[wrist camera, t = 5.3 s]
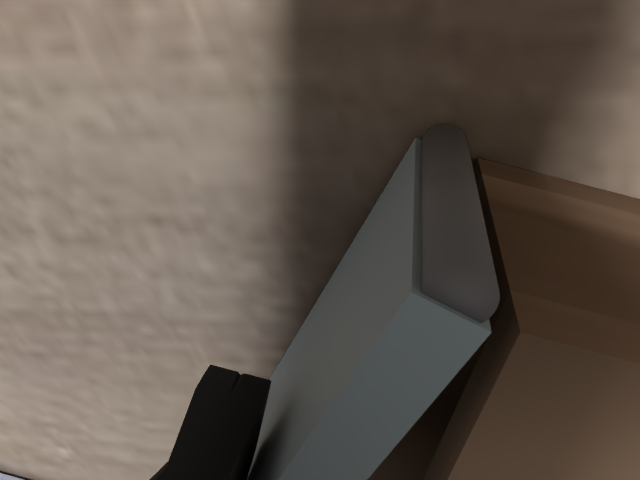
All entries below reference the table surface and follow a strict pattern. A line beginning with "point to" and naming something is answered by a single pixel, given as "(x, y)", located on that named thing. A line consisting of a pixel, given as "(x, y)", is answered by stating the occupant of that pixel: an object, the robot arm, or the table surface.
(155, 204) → the table surface
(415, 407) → the cabinet door
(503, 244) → the brown wooden block
